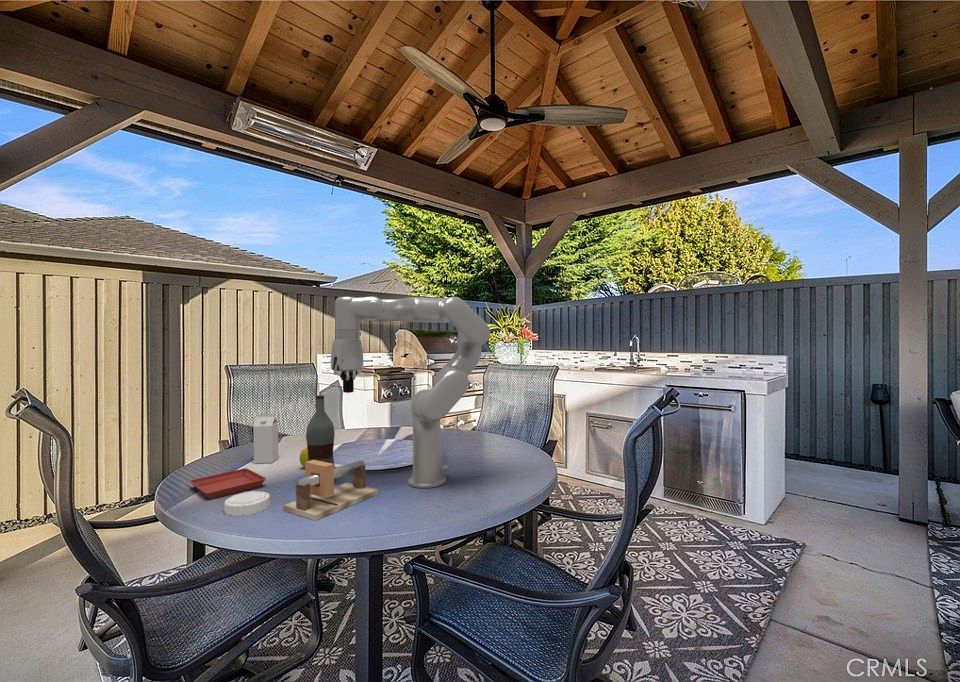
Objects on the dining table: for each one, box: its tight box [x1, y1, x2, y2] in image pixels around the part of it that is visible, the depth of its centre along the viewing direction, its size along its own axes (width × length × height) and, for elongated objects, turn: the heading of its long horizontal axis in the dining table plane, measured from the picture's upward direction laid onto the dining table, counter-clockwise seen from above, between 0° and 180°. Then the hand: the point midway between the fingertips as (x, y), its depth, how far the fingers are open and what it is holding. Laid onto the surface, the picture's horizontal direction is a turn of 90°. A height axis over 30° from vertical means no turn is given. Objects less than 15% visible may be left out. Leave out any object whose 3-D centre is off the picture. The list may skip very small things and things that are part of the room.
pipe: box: [296, 459, 366, 490], centre depth 136 cm, size 23×3×3 cm, turn 148°
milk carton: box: [252, 413, 279, 465], centre depth 182 cm, size 7×7×19 cm
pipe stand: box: [282, 465, 380, 522], centre depth 136 cm, size 24×14×8 cm, turn 148°
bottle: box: [305, 394, 336, 468], centre depth 154 cm, size 9×9×30 cm
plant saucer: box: [189, 467, 267, 500], centre depth 150 cm, size 18×18×3 cm
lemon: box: [299, 447, 308, 468], centre depth 172 cm, size 6×6×8 cm
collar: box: [304, 460, 335, 498], centre depth 132 cm, size 3×9×9 cm, turn 58°
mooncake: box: [223, 490, 271, 517], centre depth 132 cm, size 12×12×4 cm
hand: (348, 392), depth 145 cm, fingers closed
